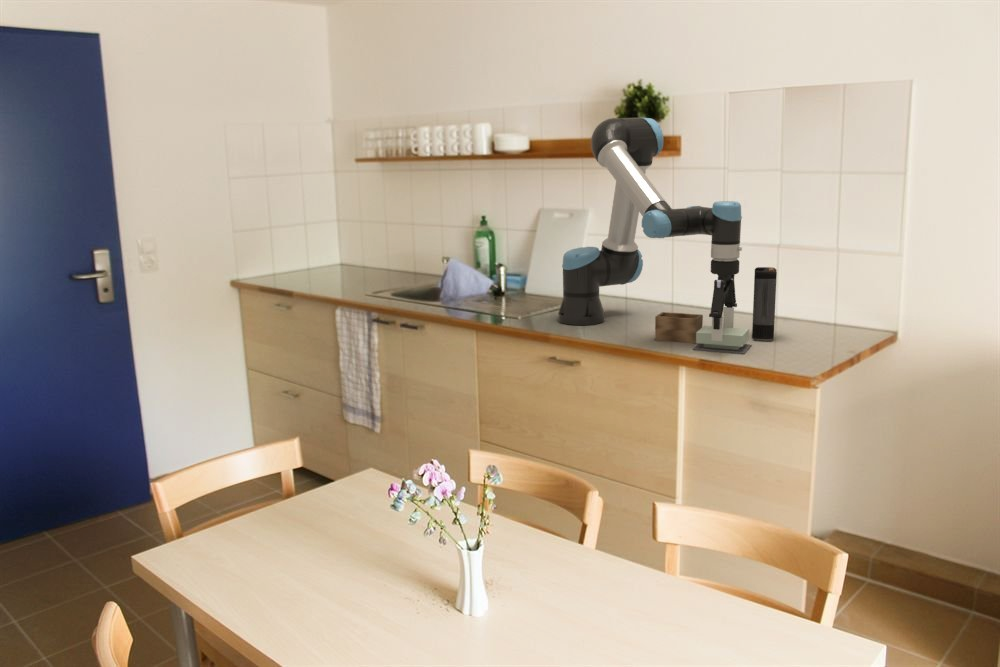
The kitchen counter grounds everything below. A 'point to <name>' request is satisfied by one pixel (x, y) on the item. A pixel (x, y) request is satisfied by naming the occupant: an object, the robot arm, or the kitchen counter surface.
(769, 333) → the electronic device
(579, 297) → the robot arm
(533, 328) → the kitchen counter surface
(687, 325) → the crate
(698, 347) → the mat
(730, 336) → the block
